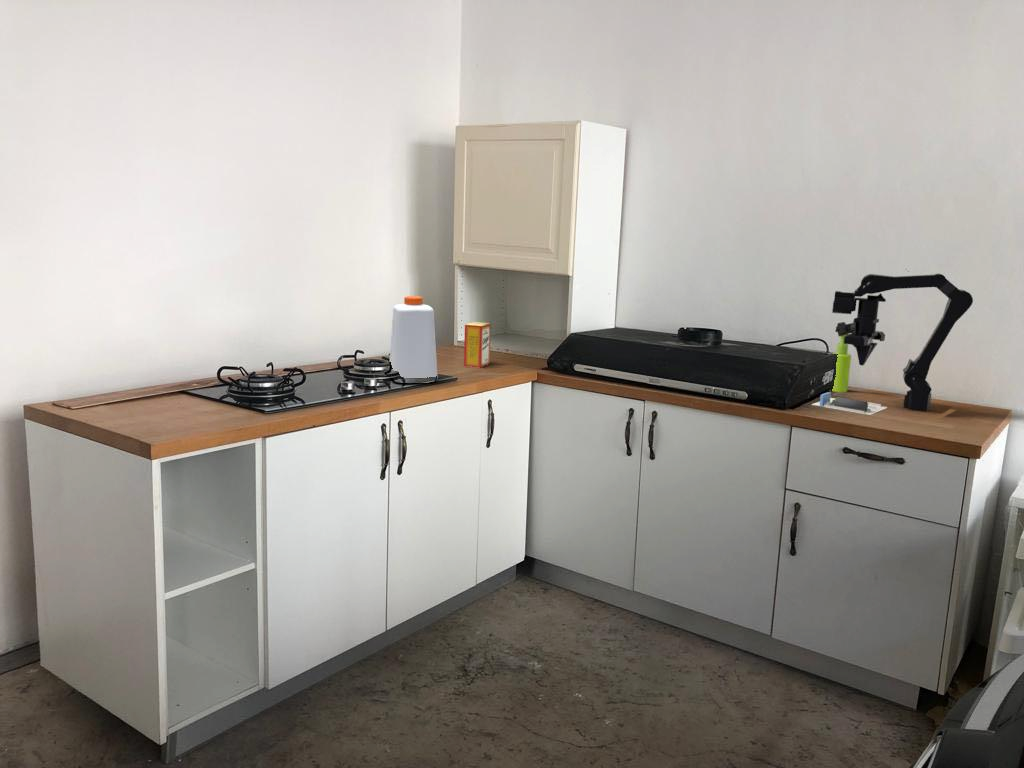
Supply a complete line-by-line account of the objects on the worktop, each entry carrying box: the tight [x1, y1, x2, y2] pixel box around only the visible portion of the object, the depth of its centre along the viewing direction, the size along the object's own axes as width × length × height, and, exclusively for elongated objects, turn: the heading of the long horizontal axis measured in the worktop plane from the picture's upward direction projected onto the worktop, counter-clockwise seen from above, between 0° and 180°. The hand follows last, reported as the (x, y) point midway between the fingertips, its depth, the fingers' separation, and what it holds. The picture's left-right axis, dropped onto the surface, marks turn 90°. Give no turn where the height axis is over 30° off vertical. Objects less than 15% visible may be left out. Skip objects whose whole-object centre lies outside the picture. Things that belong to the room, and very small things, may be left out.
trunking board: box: [811, 391, 888, 416], centre depth 264 cm, size 18×15×4 cm
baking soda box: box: [463, 321, 492, 368], centre depth 318 cm, size 10×6×16 cm
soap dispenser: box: [831, 335, 852, 393], centre depth 287 cm, size 6×7×20 cm
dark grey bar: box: [834, 396, 869, 412], centre depth 260 cm, size 9×3×3 cm, turn 48°
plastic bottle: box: [389, 295, 438, 378], centre depth 286 cm, size 15×15×28 cm
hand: (861, 365), depth 267 cm, fingers closed
